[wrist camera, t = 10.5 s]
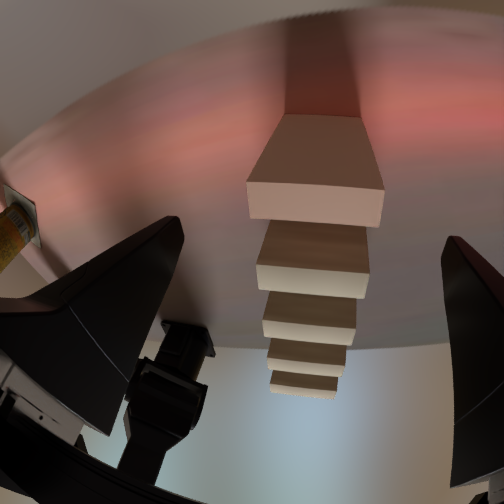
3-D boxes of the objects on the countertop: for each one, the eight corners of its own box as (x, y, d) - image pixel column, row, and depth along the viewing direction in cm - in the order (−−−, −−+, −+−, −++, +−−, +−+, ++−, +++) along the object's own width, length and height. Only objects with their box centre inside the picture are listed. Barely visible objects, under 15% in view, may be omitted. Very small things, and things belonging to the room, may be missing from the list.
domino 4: (346, 274, 26) (341, 377, 18) (290, 269, 27) (268, 369, 20) (348, 260, 25) (345, 365, 17) (290, 255, 26) (266, 357, 19)
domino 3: (351, 237, 23) (351, 345, 16) (289, 232, 24) (264, 336, 17) (353, 220, 22) (356, 329, 15) (289, 216, 23) (262, 319, 16)
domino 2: (356, 192, 21) (364, 298, 13) (288, 188, 22) (258, 289, 15) (358, 172, 20) (369, 274, 12) (287, 168, 21) (255, 264, 14)
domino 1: (360, 140, 18) (379, 227, 11) (285, 136, 19) (250, 217, 12) (361, 117, 17) (384, 190, 10) (284, 114, 18) (245, 181, 11)
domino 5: (341, 303, 28) (333, 399, 21) (290, 299, 29) (270, 392, 22) (343, 292, 27) (336, 391, 20) (290, 287, 28) (269, 383, 21)
